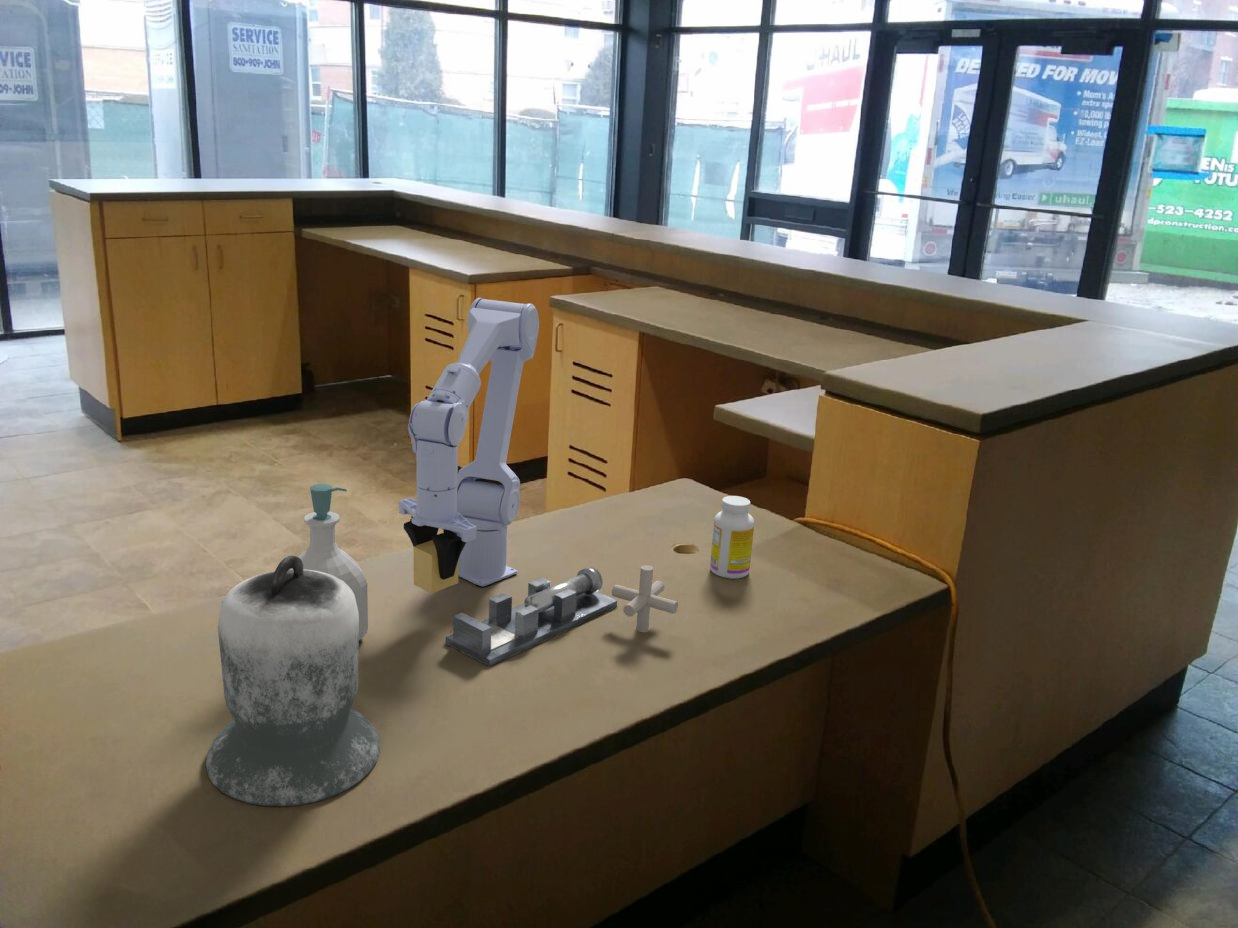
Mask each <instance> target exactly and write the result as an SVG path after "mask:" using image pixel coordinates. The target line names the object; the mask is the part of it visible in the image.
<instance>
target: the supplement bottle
mask: <svg viewBox="0 0 1238 928" xmlns="http://www.w3.org/2000/svg"><path fill="white" fill-rule="evenodd" d="M721 509H722V510H721V511H719V512H717V514H716V515H715V516H714V519H713V531H712V532H713V533H712V544H711V553H710V567H709V568H710V571H711V572H712V573H713V574H714V575H716V576H719V577H721V578H725V579H731V580H735V579H742V578H745V577H746V576H747V575H749V572H750V570H751V568H750V567H751V559H752V551H753V539H754V532H755V530H754V529H755V519H754V517H753V516H752V515H751V513H749V511H750V509H751V501H750V499H749V498H746V497H743V496H739V495H728V496H724V497H723V498H722V499H721Z"/></svg>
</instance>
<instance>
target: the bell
mask: <svg viewBox="0 0 1238 928" xmlns="http://www.w3.org/2000/svg"><path fill="white" fill-rule="evenodd" d="M291 568H292V570H289V569H291ZM219 608H220V609H219V616H218V623H217V633H218V644H219V654H220V665H221V667H220V668H221V675H222V684H223V685H222V687H223V695H224V696H223V697H224V701H225V704H226V705H225V706H226V707H227V709H228V710H229V713H231V716H232V718H233V719H232V720H231V721H230V722H229V723H228V724H226V725H225V726H224V728H223V729H222V730H221V731H220V732H218V734H217V735H216V736H215V737H214V739H213V740H212V742H211V744H210V747H209V748H208V750H207V755H206V761H205V766H206V772H207V776H208V777H209V779H210V781H211V783H212V784H213V786H214V787H215V788H217V789H218V791H220V792H221V793H222V794H225V795H226V796H228V797H230V798H232V799H234V800H237V801H239V802H243V803H246V804H249V805H256V806H263V807H290V806H291V807H292V806H300V805H301V806H302V805H307V804H312V803H315V802H320V801H322V800H326V799H329V798H331V797H335V796H337V795H339V794H341V793H342V792H345V791H347V790H349V789H351V788H352V787H354V786H355V785H357V784H358V783H359V782H361V781H362V780H363V779H364V778H365V777H366V776H367V775H369V773H370V772H371V771H372V770H373V768H374V767H375V765H376V763H377V762H378V759H379V756H380V752H381V745H380V741H381V740H380V737H379V733H378V732H377V729H376V727H375V726H374V725H373V724H372V723H371V721H370V719H368V718H366V716H364V714H362V713H361V712H359V711H358V710H356V709H355V708H353V707H352V705H353V703H354V700H355V698H356V695H357V692H358V690H359V689H358V688H359V643H360V642H359V641H360V640H359V613H358V608H357V604H356V599H355V595H354V593H353V591H352V590H351V588H350V587H349V586H348V585H347V584H346V583H345V582H344V581H342V580H340V579H338V578H337V577H335V576H333V575H330V574H327V573H324V572H319V571H313V570H303V563H302V560H301V559H300V558H299V556H297V555H289V556H285V557H284V558H283V559H282V560H281V561H280V562H279V563H278V565H277V567H276V568H275V570H273V571H268V572H264V573H260V574H257V575H253V576H252V577H249V578H246V579H245V580H242V581H240V582H239V583H237V584H236V585H235V586H233V587H232V588H231V589H230V590H229V591H228V592H226V595H225V596H224V598H223V600H222V601H221V603H220V607H219Z"/></svg>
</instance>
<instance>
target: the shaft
mask: <svg viewBox="0 0 1238 928" xmlns="http://www.w3.org/2000/svg"><path fill="white" fill-rule="evenodd" d="M602 587H603V577H602V574H601V573H600V571H599V570H598V569H597V568H596V567H593V566H587V567H585V568H582V569H580V570H579V571H578V572H577V574H576V576H574V577H571V578H569V579H566V580H564V581H561V582H560V583H556V584H554V585H552V586H550V588H547V589H545V590H543V591H540V592H538V593H536V594H533V595H531V596H528V595H527V596H526V597H525V599H524V602H523V604H524V605H525V607H528V606H530V605H531V606H533V607H535V608H538V609H539V612H538V613H540V612H542V611H544V610H547V609H549V608H551V607H553V606H554V599H555V595H556V594H558V593H560V592H562V591H565V590H567V589H570V590H572V591H575V592H577V593H576V596H578V595H580V594H583V593H585V594H588V595H589V594H592V593H595V592H599V591H600V590H601V589H602Z"/></svg>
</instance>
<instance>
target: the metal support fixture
mask: <svg viewBox="0 0 1238 928" xmlns="http://www.w3.org/2000/svg"><path fill="white" fill-rule="evenodd" d="M527 587H528V589H527V597H528V596H531V595H533V594H536V593H538V592H540V591H543V590H545V589H547V588H550V587H551V580H550V579H548V578H545V577H543V576H542V577H540V578H538V579H535V580H533V581H530V582H528V586H527ZM576 593H577V592H575V591H572V590H570V589H567V590H565V591H562V592H560V593H558V594H556V595H555V599H554V606H553V607H551V608H549V609H547V610H544V611H542V612H540V613H538V612H539V609H538V608H535V607H533V606H531V605H530V606H528V607H525V605H524V603H521V604H520V605H517V606H514V607H513V596H512V595H510V594H507V593H505V592H503V593H501V594H499V595H496V596H494V597H491V598H489V600H488V618H486V619H484V620H482V621H480V620H478V619H476V618H473V617H471V616H470V615H468V614H466V613H464V612H460V613H458V614H455V615H453V616H452V633H451V634H448V635H447V636H445V644H447V645H449V646H450V647H452V648H454V649H456V650H457V651H460V652H462V653H464V654H465V655H467V656H469V657H471V658H473V659H474V660H477V661H478V662H480V663H483V664H484V665H486V666H488V667H492V666H493V665H496V664H498V663H499V662H500V663H501V662H502V661H504V660H506V659H508V658H510V657H513V656H515V655H516V654H519V653H521V652H524V651H525V650H528V649H530V648H532V647H534V646H536V645H538V644H541V643H542V642H545V641H546V640H549V639H550V638H551V639H552V637H555V636H557V635H559V634H561V633H564V632H566V631H568V630H569V629H572V628H574V627H576V626H578V625H580V624H583V623H585V622H587V621H589V620H591V619H594V618H595V617H597V616H599V615H601V614H603V613H605V612H608V611H610V610H613V609H614V608H616V607H618V600H617V599H615V598H612V597H610V596H608V595H605V594H604V593H601V592H599V591H597V592H595V593H592V594H589V595H588V594H585V593H583V594H580V595H578V596H576Z"/></svg>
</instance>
